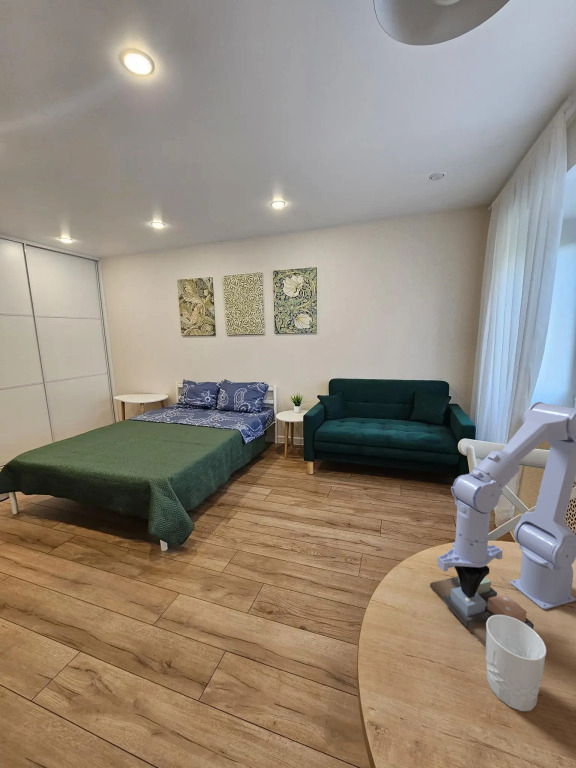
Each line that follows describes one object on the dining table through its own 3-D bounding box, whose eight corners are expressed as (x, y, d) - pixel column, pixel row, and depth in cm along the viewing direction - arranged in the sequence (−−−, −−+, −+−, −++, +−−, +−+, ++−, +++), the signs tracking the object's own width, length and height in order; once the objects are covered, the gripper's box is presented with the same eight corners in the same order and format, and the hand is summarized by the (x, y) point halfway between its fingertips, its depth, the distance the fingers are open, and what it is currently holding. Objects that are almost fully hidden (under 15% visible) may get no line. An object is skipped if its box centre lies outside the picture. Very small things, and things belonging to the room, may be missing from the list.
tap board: (468, 577, 75) (469, 568, 75) (539, 641, 59) (540, 630, 59) (426, 587, 73) (427, 578, 72) (489, 657, 56) (490, 645, 56)
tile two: (504, 604, 65) (505, 592, 65) (525, 622, 61) (526, 610, 60) (487, 608, 64) (488, 597, 64) (507, 627, 60) (508, 615, 59)
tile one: (473, 577, 73) (474, 566, 72) (490, 591, 68) (491, 580, 68) (457, 580, 72) (458, 570, 71) (473, 595, 67) (474, 584, 67)
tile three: (467, 595, 68) (468, 584, 67) (484, 612, 63) (485, 600, 63) (450, 599, 67) (450, 588, 66) (467, 617, 62) (467, 605, 62)
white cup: (552, 722, 46) (558, 664, 45) (494, 710, 48) (499, 654, 47) (523, 668, 54) (528, 618, 53) (475, 660, 56) (478, 611, 55)
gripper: (483, 518, 68) (479, 573, 70) (428, 528, 65) (425, 586, 67) (513, 537, 62) (508, 597, 63) (453, 549, 58) (449, 613, 60)
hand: (467, 593), depth 65 cm, fingers closed
